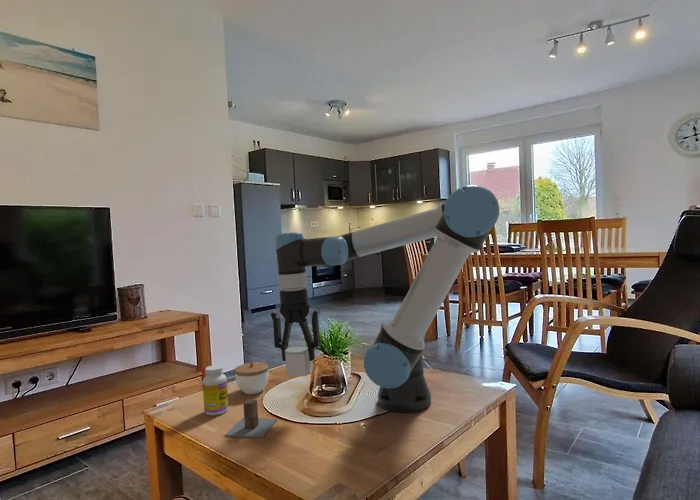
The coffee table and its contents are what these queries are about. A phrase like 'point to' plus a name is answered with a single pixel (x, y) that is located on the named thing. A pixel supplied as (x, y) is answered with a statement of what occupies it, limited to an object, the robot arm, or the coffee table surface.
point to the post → (251, 414)
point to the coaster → (258, 432)
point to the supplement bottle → (215, 391)
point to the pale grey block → (296, 361)
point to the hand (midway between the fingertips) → (299, 371)
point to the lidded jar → (252, 377)
